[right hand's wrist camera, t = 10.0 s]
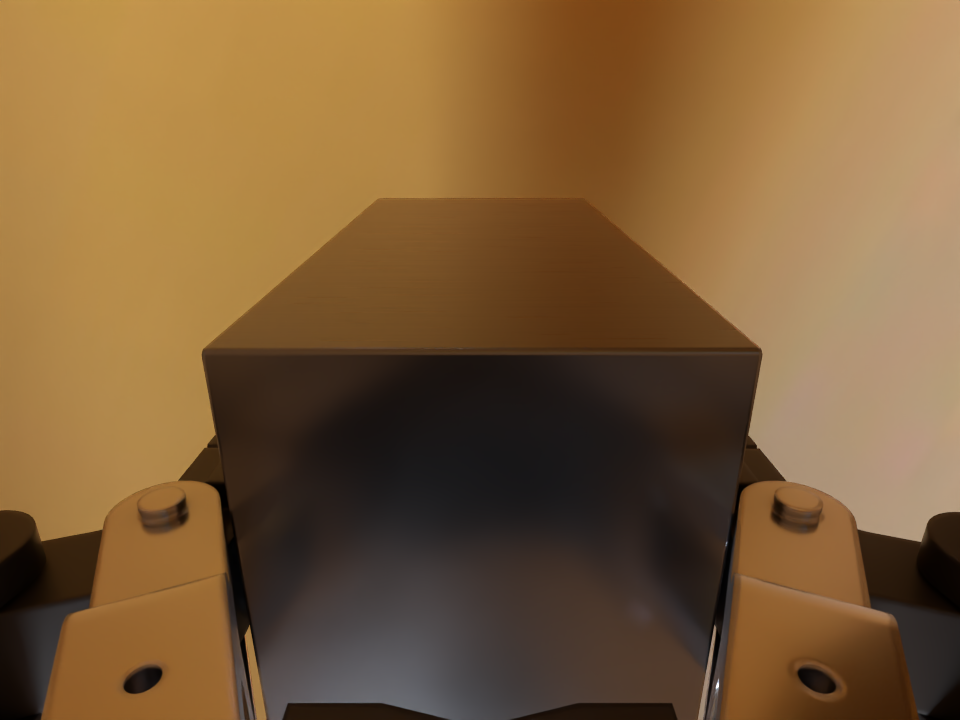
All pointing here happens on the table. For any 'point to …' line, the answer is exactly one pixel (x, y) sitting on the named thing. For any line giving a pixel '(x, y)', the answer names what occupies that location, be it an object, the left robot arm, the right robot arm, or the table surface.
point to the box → (482, 464)
